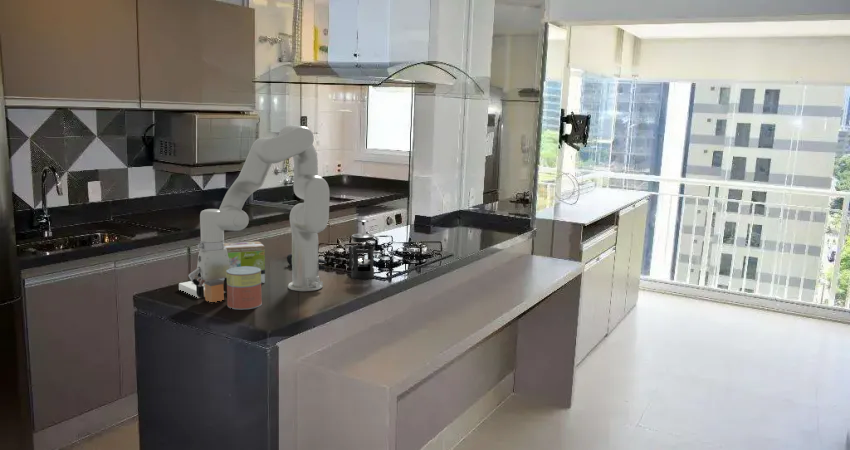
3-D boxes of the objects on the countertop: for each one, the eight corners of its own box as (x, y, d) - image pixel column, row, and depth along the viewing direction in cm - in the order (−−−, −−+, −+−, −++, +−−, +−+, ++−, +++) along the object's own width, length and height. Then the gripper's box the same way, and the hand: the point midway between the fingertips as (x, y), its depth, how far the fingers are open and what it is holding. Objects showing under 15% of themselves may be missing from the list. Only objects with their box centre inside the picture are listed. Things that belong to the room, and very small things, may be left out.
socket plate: (234, 290, 235) (233, 282, 234) (197, 298, 225) (197, 289, 224) (214, 283, 244) (214, 275, 244) (179, 289, 234) (178, 281, 234)
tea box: (225, 287, 240) (224, 248, 237) (220, 280, 248) (219, 242, 246) (265, 283, 246) (265, 245, 244) (259, 276, 255) (258, 240, 253)
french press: (380, 276, 260) (381, 220, 256) (366, 281, 252) (366, 223, 248) (357, 272, 266) (357, 216, 262) (342, 276, 258) (342, 219, 254)
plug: (224, 300, 223) (223, 280, 222) (211, 303, 220) (210, 283, 218) (217, 297, 226) (216, 278, 225) (204, 300, 223) (203, 280, 222)
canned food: (263, 299, 225) (263, 266, 223) (259, 309, 214) (258, 274, 212) (230, 299, 224) (229, 266, 222) (224, 309, 213) (223, 274, 211)
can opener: (283, 267, 271) (283, 254, 270) (291, 264, 278) (291, 251, 277) (322, 271, 267) (322, 258, 266) (329, 267, 274) (329, 254, 273)
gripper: (193, 250, 211) (195, 301, 214) (241, 244, 223) (242, 292, 226) (182, 247, 216) (184, 296, 219) (229, 240, 228) (230, 287, 231)
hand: (213, 294), depth 222 cm, fingers open, 9 cm apart
